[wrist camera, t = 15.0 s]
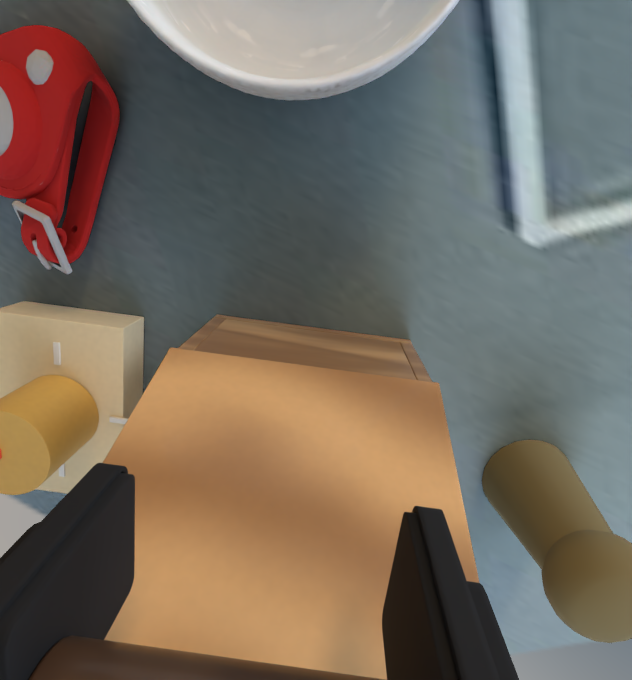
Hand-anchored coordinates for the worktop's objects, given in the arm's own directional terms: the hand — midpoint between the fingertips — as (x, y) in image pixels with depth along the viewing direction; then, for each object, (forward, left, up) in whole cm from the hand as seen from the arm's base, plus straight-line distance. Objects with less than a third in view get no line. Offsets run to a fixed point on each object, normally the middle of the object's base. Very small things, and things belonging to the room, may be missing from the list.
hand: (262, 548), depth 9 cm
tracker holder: (+8, +17, -21) cm, 28 cm away
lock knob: (-7, +15, -17) cm, 24 cm away
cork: (-9, -16, -21) cm, 28 cm away
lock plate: (-7, +15, -20) cm, 26 cm away
